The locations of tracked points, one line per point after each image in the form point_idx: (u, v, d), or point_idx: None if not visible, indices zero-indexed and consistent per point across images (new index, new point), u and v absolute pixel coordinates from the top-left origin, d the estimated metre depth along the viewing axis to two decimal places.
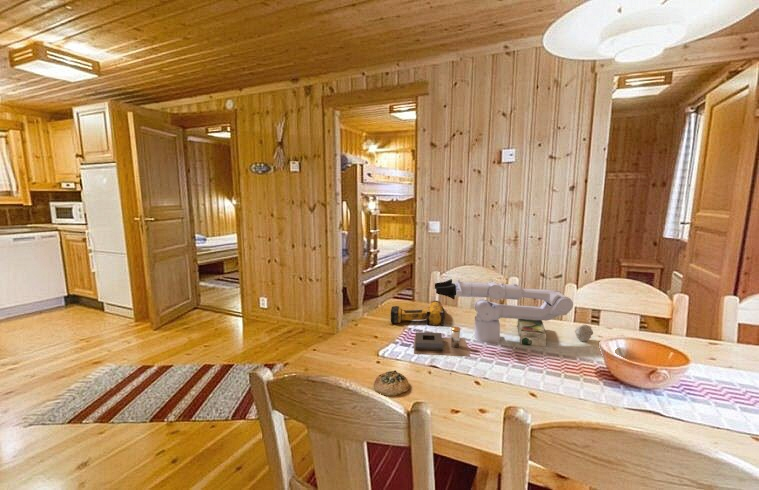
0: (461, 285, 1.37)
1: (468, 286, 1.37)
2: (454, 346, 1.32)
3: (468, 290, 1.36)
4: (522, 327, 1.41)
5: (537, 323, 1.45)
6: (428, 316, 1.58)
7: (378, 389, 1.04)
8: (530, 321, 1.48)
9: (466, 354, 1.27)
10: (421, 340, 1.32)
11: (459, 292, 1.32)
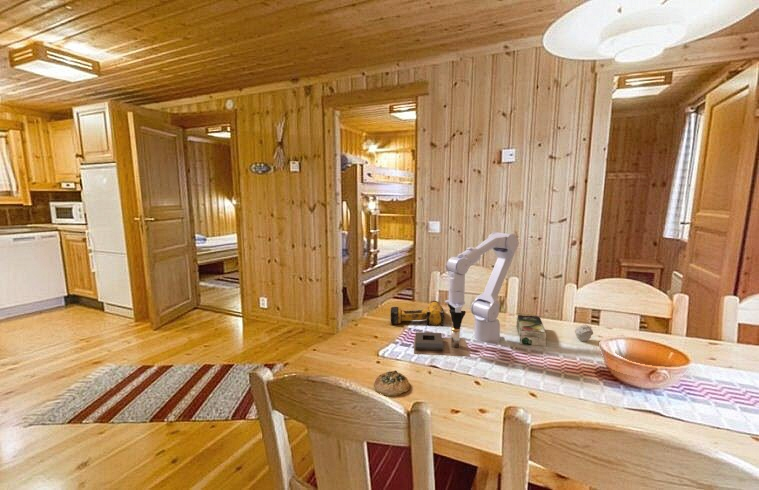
0: (451, 301, 1.29)
1: (452, 294, 1.29)
2: (454, 346, 1.32)
3: (456, 294, 1.28)
4: (522, 327, 1.41)
5: (537, 323, 1.45)
6: (428, 316, 1.57)
7: (378, 389, 1.04)
8: (529, 321, 1.48)
9: (466, 354, 1.27)
10: (421, 340, 1.32)
11: (457, 309, 1.24)
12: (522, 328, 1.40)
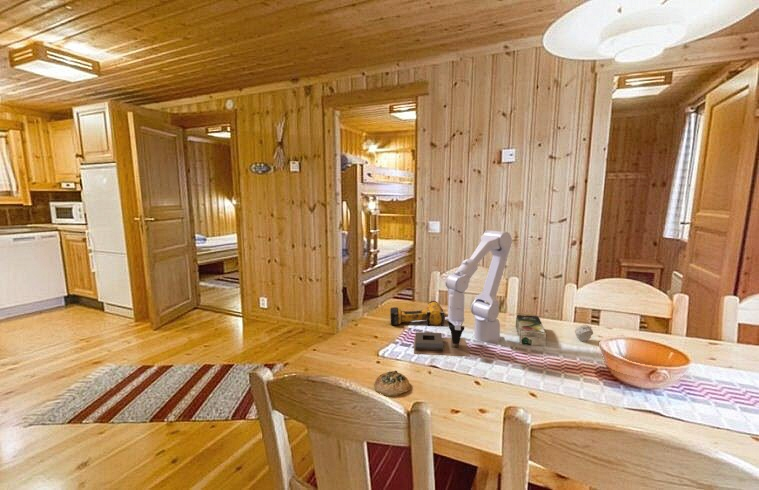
0: (450, 318, 1.30)
1: (451, 311, 1.30)
2: (454, 346, 1.32)
3: (456, 312, 1.29)
4: (521, 327, 1.41)
5: (536, 323, 1.46)
6: (428, 317, 1.57)
7: (379, 389, 1.04)
8: (529, 320, 1.48)
9: (466, 354, 1.27)
10: (421, 340, 1.32)
11: (456, 327, 1.25)
12: (522, 328, 1.40)
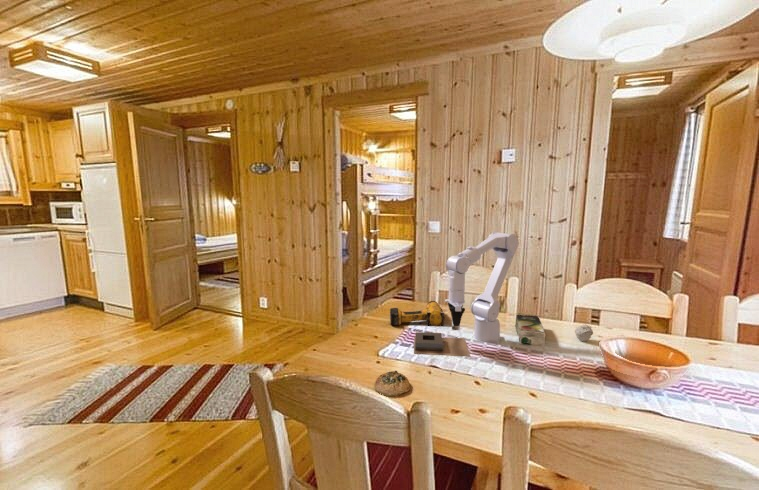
0: (451, 300, 1.29)
1: (452, 293, 1.29)
2: (454, 328, 1.31)
3: (456, 293, 1.28)
4: (521, 326, 1.42)
5: (536, 322, 1.46)
6: (428, 317, 1.57)
7: (379, 389, 1.04)
8: (528, 320, 1.48)
9: (466, 354, 1.27)
10: (421, 340, 1.32)
11: (457, 308, 1.24)
12: (521, 328, 1.40)
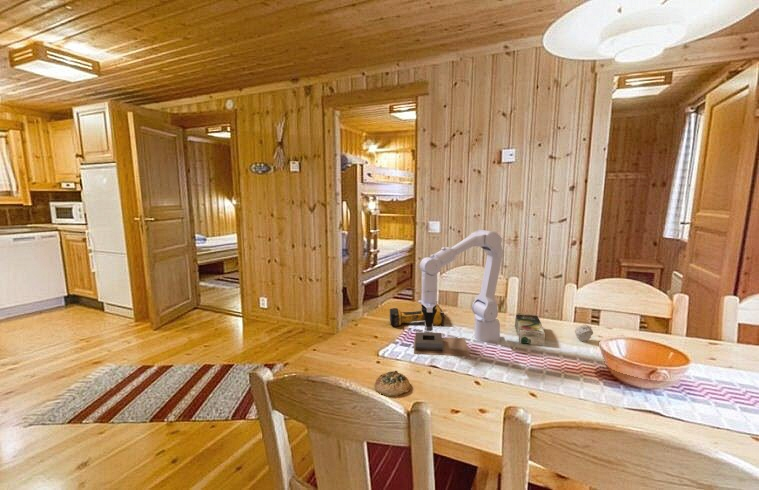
0: (423, 301, 1.31)
1: (424, 294, 1.30)
2: (427, 329, 1.32)
3: (428, 294, 1.29)
4: (521, 326, 1.42)
5: (535, 322, 1.46)
6: None
7: (379, 389, 1.04)
8: (528, 320, 1.49)
9: (466, 354, 1.27)
10: (421, 340, 1.32)
11: (428, 309, 1.25)
12: (521, 327, 1.41)
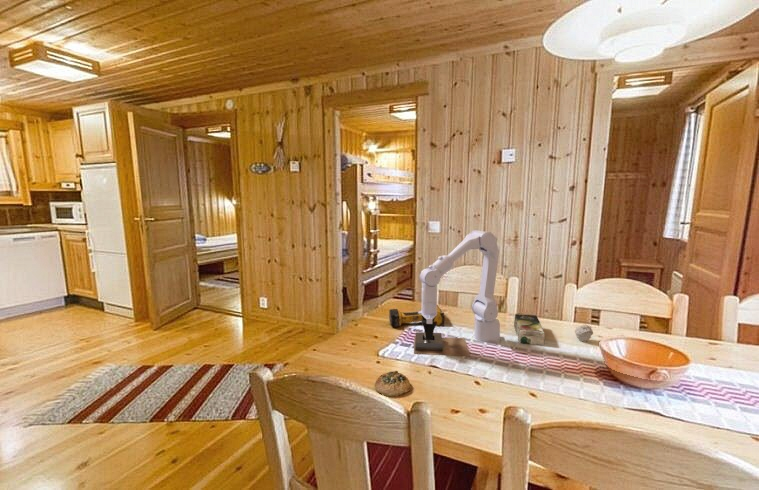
0: (423, 312, 1.31)
1: (424, 305, 1.30)
2: None
3: (428, 306, 1.30)
4: (520, 326, 1.42)
5: (535, 322, 1.46)
6: None
7: (379, 389, 1.04)
8: (527, 320, 1.49)
9: (466, 354, 1.27)
10: (421, 340, 1.32)
11: (428, 320, 1.26)
12: (520, 327, 1.41)
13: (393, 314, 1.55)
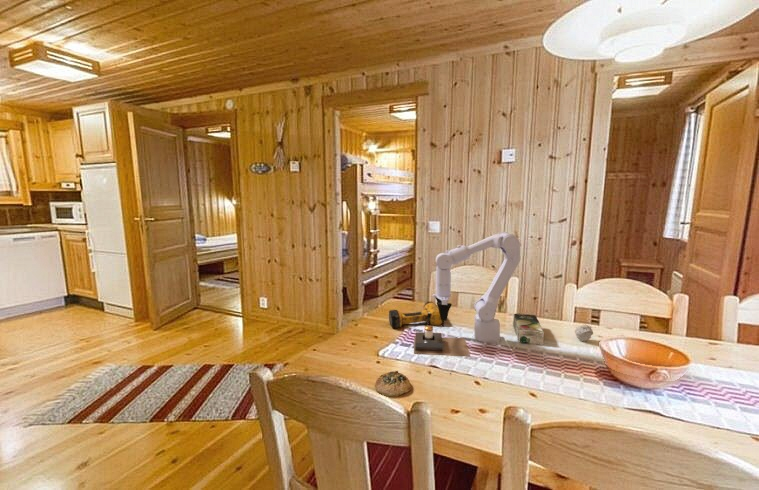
0: (438, 294, 1.38)
1: (439, 287, 1.38)
2: None
3: (443, 288, 1.37)
4: (520, 326, 1.42)
5: (534, 322, 1.47)
6: (429, 318, 1.55)
7: (380, 389, 1.04)
8: (526, 319, 1.49)
9: (466, 354, 1.27)
10: (421, 340, 1.32)
11: (443, 301, 1.33)
12: (520, 327, 1.41)
13: (393, 315, 1.54)
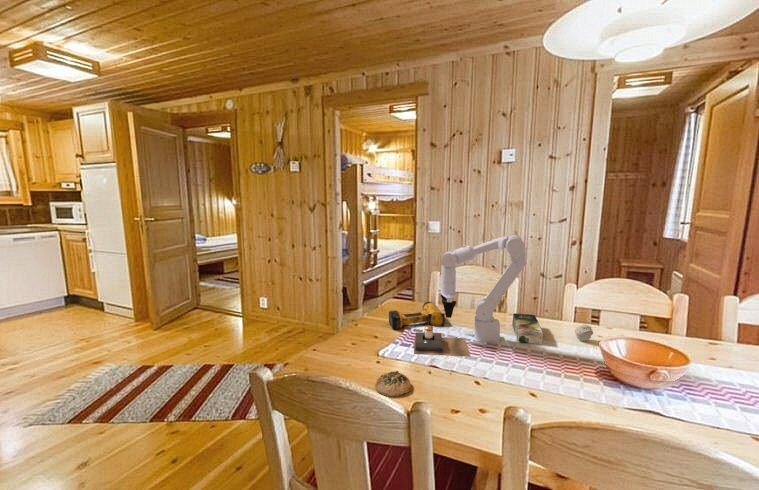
0: (443, 292, 1.41)
1: (444, 285, 1.41)
2: None
3: (448, 286, 1.40)
4: (518, 325, 1.43)
5: (533, 321, 1.47)
6: (430, 318, 1.55)
7: (380, 390, 1.04)
8: (525, 319, 1.50)
9: (466, 354, 1.27)
10: (421, 340, 1.32)
11: (448, 299, 1.36)
12: (519, 326, 1.42)
13: (394, 316, 1.53)
